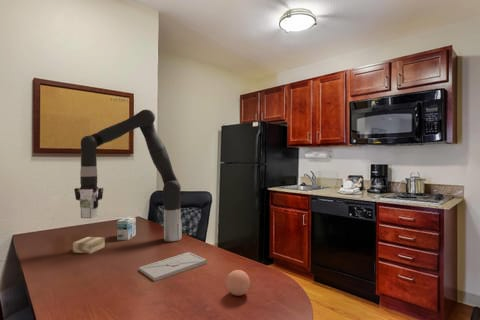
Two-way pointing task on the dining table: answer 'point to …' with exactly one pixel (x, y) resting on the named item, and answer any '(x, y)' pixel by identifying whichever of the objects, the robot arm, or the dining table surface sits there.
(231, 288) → the toy ball
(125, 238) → the light bulb box
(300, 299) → the dining table surface
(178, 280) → the dining table surface
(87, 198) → the syrup box
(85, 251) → the maple block
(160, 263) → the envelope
